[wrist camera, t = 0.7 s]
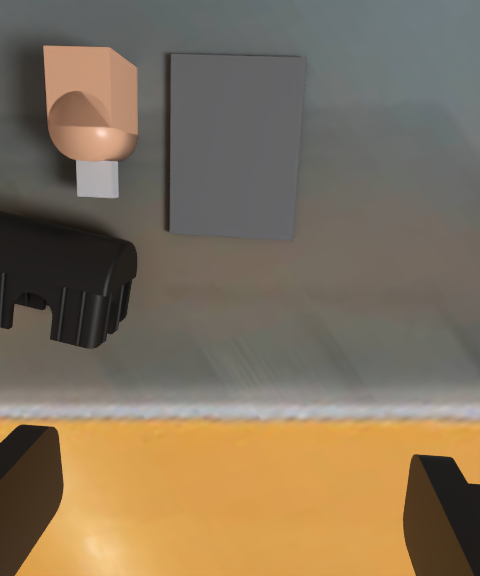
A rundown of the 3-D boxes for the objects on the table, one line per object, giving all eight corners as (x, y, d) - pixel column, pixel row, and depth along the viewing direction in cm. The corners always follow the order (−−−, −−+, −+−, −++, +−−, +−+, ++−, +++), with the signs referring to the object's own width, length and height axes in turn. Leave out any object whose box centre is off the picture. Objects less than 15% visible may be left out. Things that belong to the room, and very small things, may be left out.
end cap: (145, 235, 33) (112, 249, 27) (131, 322, 35) (97, 355, 29) (18, 205, 34) (-45, 213, 27) (11, 293, 36) (-50, 320, 29)
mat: (172, 55, 30) (170, 53, 30) (306, 59, 29) (306, 57, 29) (171, 232, 33) (169, 233, 33) (292, 239, 32) (292, 240, 32)
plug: (80, 66, 31) (43, 45, 26) (137, 67, 31) (109, 47, 26) (85, 194, 33) (52, 196, 28) (138, 196, 33) (113, 200, 28)
